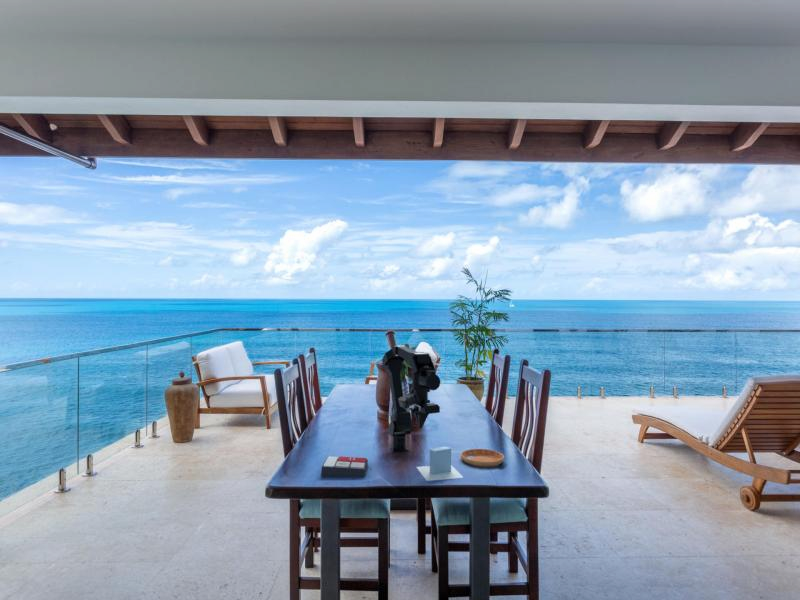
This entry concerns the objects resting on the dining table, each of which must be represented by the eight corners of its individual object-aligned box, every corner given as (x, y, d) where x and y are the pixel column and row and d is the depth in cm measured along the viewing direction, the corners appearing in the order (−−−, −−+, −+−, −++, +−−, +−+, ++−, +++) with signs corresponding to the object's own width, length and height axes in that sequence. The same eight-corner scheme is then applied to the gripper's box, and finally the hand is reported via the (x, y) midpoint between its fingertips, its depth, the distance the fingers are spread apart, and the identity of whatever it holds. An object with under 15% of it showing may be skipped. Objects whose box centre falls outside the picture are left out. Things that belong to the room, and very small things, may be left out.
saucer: (466, 453, 181) (466, 446, 181) (506, 458, 175) (506, 450, 175) (456, 466, 166) (456, 458, 166) (500, 472, 160) (500, 464, 160)
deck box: (429, 472, 158) (429, 448, 159) (446, 468, 162) (446, 446, 162) (434, 474, 156) (434, 451, 156) (451, 471, 159) (451, 448, 159)
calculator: (365, 467, 155) (321, 464, 156) (364, 480, 155) (320, 477, 156) (368, 456, 166) (327, 454, 167) (367, 468, 166) (326, 466, 167)
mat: (416, 468, 163) (416, 467, 163) (450, 465, 166) (450, 464, 166) (426, 482, 150) (426, 480, 150) (463, 479, 153) (463, 477, 153)
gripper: (389, 384, 175) (389, 424, 174) (413, 391, 158) (413, 437, 158) (415, 381, 180) (415, 421, 179) (440, 389, 163) (440, 433, 163)
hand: (420, 428), depth 170 cm, fingers closed
